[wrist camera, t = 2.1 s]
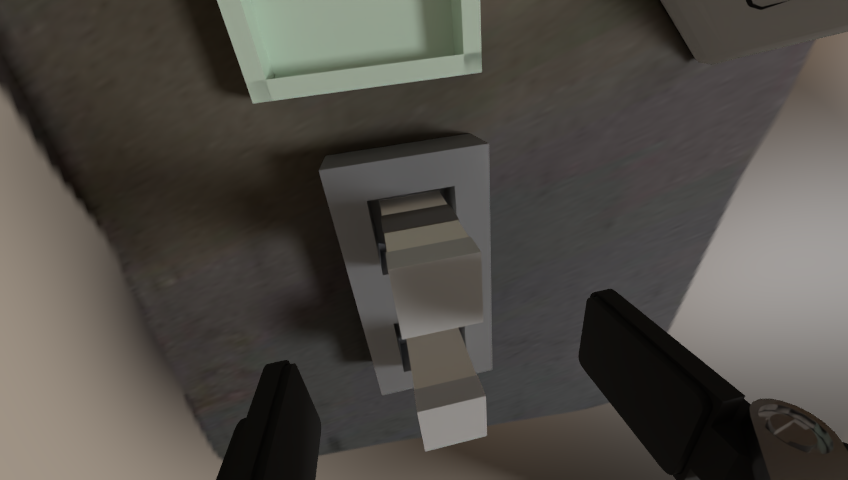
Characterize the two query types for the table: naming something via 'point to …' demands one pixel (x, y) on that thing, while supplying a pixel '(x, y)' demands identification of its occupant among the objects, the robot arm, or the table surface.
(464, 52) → the parts tray
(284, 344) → the table surface
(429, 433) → the block
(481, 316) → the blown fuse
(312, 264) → the table surface
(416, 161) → the block
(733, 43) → the electrical switch
